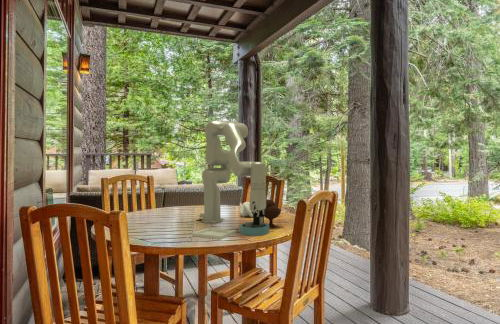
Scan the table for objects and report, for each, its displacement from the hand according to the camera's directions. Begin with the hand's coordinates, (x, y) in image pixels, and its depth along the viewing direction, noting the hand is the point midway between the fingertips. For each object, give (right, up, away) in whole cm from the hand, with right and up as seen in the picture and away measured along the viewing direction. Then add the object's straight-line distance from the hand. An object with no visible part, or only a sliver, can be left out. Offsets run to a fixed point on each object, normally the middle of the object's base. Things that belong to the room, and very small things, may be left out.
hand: (258, 223), depth 177 cm
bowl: (-2, -5, +1) cm, 6 cm away
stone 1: (-4, -4, +2) cm, 7 cm away
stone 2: (0, -1, 0) cm, 1 cm away
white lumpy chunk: (-4, -4, +51) cm, 51 cm away
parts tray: (-22, -5, -3) cm, 22 cm away
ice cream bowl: (+7, -5, +17) cm, 19 cm away
